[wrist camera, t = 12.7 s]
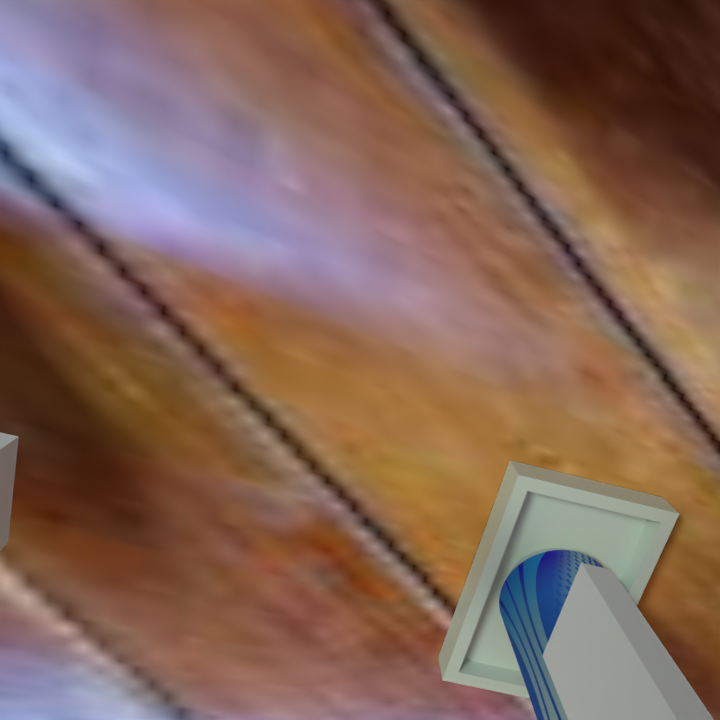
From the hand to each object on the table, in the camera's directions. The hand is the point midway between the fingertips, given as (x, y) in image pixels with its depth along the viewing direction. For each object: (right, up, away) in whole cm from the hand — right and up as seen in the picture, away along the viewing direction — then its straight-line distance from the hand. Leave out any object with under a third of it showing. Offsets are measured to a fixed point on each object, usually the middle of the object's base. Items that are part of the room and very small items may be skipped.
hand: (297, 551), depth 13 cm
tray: (+16, -13, +31) cm, 37 cm away
